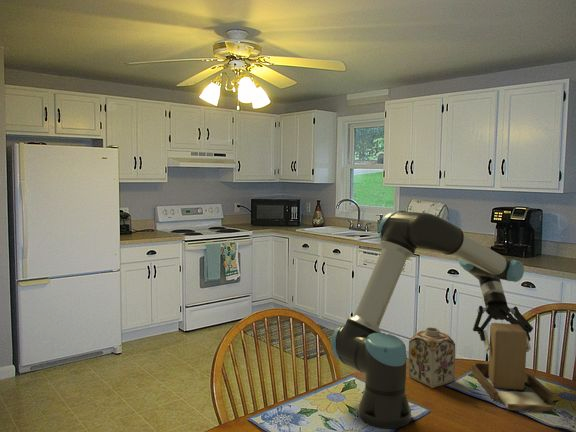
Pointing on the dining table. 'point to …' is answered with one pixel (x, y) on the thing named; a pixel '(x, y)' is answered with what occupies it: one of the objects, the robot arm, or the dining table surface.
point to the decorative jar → (431, 358)
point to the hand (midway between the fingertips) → (508, 349)
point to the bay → (515, 398)
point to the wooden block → (507, 356)
